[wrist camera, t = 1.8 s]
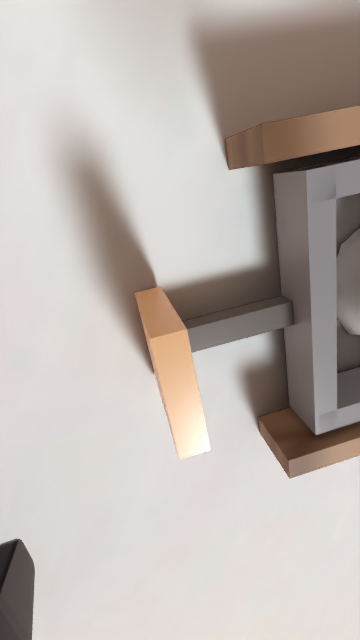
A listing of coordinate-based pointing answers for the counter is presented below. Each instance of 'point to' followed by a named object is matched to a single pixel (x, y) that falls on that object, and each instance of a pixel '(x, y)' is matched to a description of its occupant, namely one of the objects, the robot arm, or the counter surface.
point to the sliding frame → (270, 315)
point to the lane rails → (272, 146)
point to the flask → (349, 284)
